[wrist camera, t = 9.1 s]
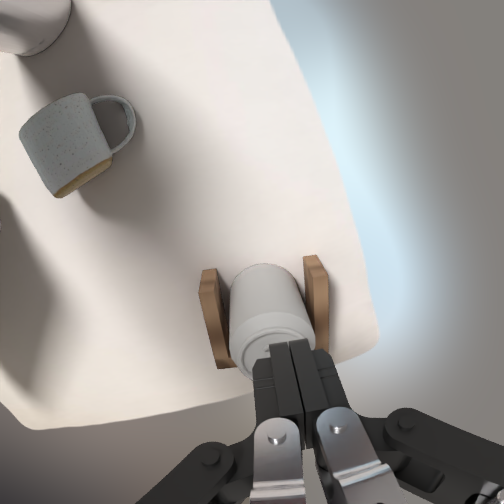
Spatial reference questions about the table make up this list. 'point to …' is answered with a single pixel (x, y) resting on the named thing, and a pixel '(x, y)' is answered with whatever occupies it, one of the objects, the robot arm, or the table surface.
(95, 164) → the ceramic mug
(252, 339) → the can
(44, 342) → the table surface
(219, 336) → the dock
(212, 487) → the robot arm
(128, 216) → the table surface
